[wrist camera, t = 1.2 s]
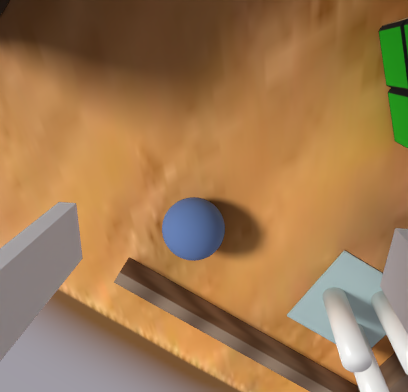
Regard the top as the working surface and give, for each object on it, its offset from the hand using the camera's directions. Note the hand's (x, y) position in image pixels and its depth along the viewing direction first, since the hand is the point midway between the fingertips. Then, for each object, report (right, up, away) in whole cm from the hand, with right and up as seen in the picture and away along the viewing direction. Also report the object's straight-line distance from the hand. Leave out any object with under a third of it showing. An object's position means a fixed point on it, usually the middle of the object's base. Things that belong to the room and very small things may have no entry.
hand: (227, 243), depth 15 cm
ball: (-2, -1, +19) cm, 19 cm away
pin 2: (+18, -9, +22) cm, 30 cm away
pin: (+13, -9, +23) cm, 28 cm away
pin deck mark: (+15, -10, +23) cm, 29 cm away
